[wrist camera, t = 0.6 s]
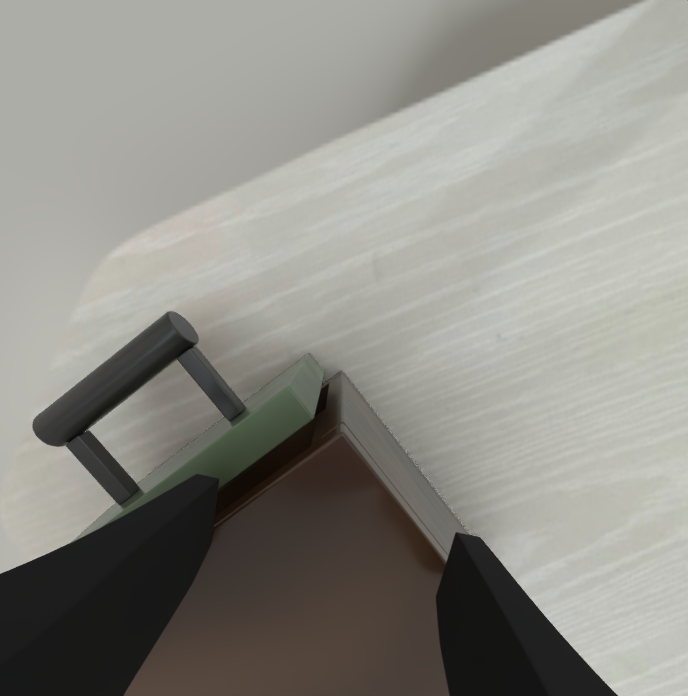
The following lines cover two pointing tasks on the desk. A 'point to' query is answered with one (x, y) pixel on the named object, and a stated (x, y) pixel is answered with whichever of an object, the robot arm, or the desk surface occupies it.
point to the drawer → (209, 448)
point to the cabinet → (317, 576)
